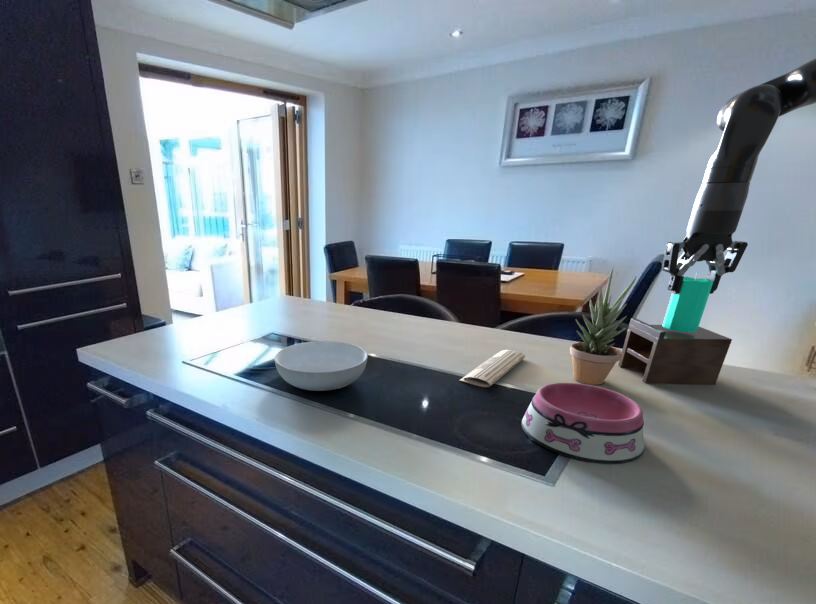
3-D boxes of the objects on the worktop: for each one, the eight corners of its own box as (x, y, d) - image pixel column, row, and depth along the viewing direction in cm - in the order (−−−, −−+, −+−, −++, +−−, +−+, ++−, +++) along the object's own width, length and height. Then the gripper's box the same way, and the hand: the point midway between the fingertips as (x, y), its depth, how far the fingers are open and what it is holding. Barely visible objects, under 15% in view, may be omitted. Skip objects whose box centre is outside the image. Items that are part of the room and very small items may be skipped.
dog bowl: (657, 434, 76) (668, 399, 73) (624, 478, 65) (636, 438, 62) (545, 402, 89) (552, 370, 86) (502, 434, 78) (508, 399, 75)
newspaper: (489, 388, 96) (491, 381, 95) (458, 381, 100) (459, 373, 99) (524, 359, 112) (526, 352, 111) (496, 353, 116) (497, 347, 115)
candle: (696, 333, 92) (715, 275, 87) (660, 328, 96) (677, 272, 91) (698, 326, 96) (716, 270, 91) (664, 322, 100) (680, 268, 95)
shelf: (681, 366, 105) (697, 318, 100) (715, 384, 95) (734, 332, 90) (618, 365, 106) (630, 318, 102) (645, 383, 96) (660, 331, 92)
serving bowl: (291, 363, 113) (290, 338, 111) (372, 369, 108) (373, 343, 105) (262, 397, 95) (260, 367, 92) (358, 406, 90) (359, 375, 87)
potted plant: (617, 377, 99) (648, 266, 90) (609, 391, 93) (641, 272, 83) (568, 368, 106) (592, 262, 96) (557, 380, 99) (581, 268, 89)
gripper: (690, 209, 84) (664, 297, 90) (774, 207, 82) (742, 296, 89) (665, 208, 91) (643, 290, 97) (742, 206, 89) (714, 289, 96)
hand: (690, 292), depth 93 cm, fingers closed on candle, 6 cm apart
